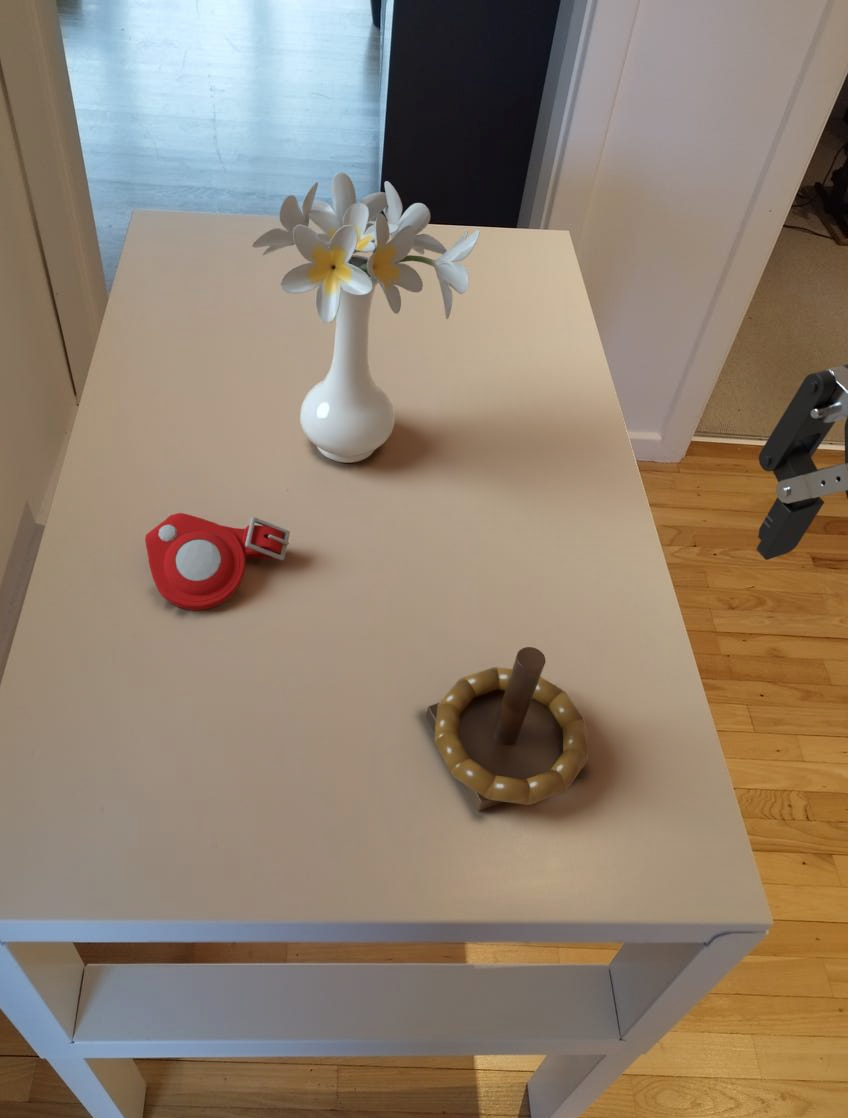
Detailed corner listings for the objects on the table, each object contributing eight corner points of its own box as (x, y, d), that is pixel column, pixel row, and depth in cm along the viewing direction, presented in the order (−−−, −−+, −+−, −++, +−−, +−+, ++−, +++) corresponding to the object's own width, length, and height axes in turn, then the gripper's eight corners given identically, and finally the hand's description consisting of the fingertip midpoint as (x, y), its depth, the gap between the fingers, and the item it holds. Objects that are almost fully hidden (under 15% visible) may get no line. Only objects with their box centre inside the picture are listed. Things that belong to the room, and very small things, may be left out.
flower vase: (454, 477, 90) (499, 235, 70) (267, 491, 87) (258, 243, 67) (427, 394, 97) (460, 154, 77) (254, 404, 95) (242, 158, 75)
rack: (522, 682, 75) (553, 593, 66) (580, 771, 70) (621, 689, 61) (425, 716, 73) (443, 628, 64) (478, 811, 68) (505, 731, 59)
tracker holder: (194, 625, 75) (115, 543, 77) (200, 641, 80) (125, 563, 81) (301, 533, 78) (223, 457, 80) (301, 553, 83) (227, 481, 84)
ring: (536, 660, 75) (541, 647, 73) (612, 776, 69) (619, 765, 67) (409, 702, 72) (411, 689, 70) (476, 829, 65) (480, 818, 64)
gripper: (1261, 433, 32) (982, 692, 45) (955, 227, 39) (792, 500, 52) (1114, 485, 29) (866, 742, 42) (821, 256, 37) (686, 533, 50)
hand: (826, 608), depth 47 cm, fingers open, 8 cm apart
